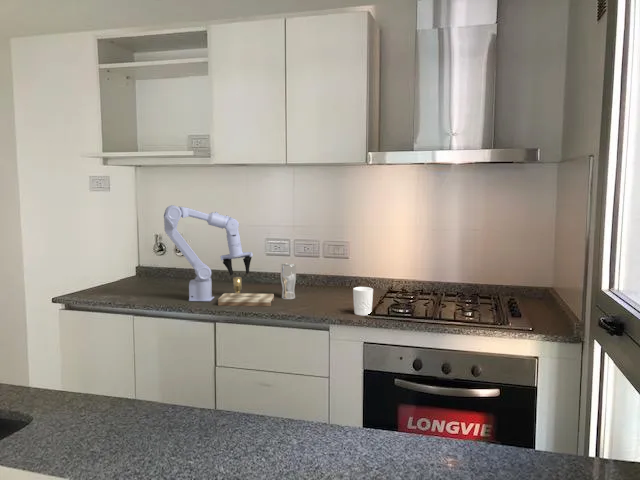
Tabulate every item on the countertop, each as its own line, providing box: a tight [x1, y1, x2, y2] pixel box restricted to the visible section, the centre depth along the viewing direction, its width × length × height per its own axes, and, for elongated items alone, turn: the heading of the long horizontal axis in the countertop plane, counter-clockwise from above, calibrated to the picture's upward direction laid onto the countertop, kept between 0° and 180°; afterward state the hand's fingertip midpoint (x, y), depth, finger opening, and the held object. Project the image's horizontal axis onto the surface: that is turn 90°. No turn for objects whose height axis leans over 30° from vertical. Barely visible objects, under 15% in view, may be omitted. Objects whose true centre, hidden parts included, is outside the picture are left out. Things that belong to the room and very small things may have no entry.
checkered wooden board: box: [217, 292, 275, 307], centre depth 224 cm, size 22×12×3 cm, turn 88°
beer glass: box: [280, 263, 297, 300], centre depth 234 cm, size 7×7×15 cm
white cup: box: [352, 286, 374, 317], centre depth 206 cm, size 8×8×10 cm
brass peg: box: [232, 276, 243, 293], centre depth 235 cm, size 4×4×9 cm
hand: (239, 274), depth 234 cm, fingers open, 7 cm apart
